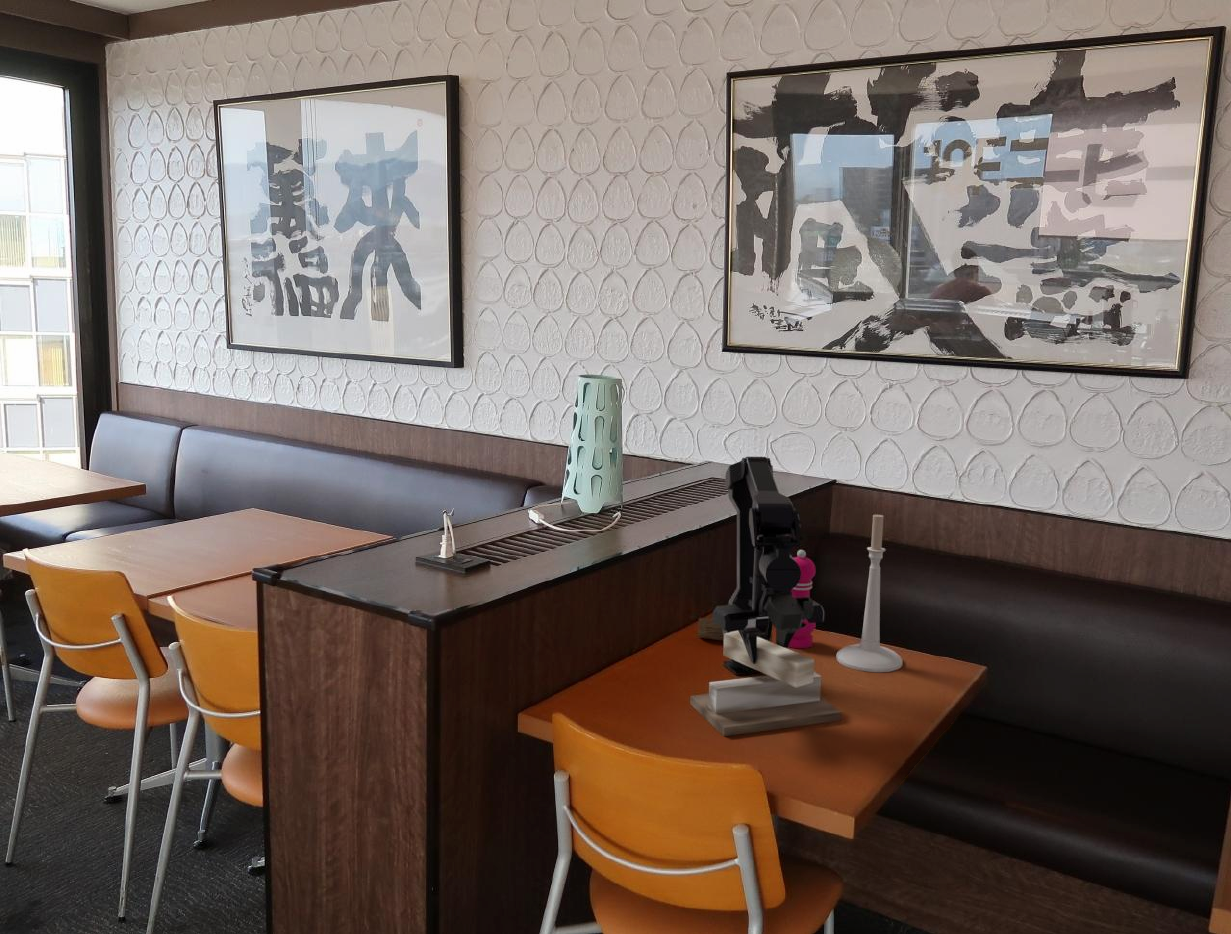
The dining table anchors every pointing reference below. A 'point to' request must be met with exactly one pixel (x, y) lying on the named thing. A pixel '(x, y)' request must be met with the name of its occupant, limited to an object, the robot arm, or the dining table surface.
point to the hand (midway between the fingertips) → (766, 661)
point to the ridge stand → (763, 705)
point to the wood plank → (712, 630)
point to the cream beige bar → (771, 660)
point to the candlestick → (871, 619)
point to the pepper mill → (803, 590)
